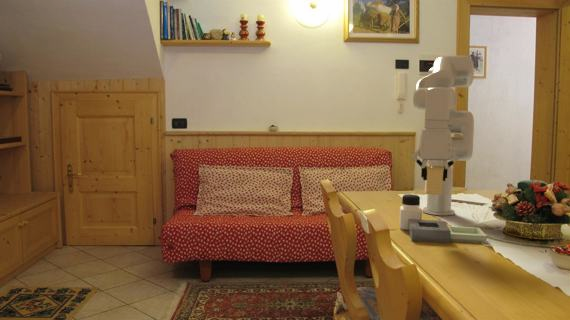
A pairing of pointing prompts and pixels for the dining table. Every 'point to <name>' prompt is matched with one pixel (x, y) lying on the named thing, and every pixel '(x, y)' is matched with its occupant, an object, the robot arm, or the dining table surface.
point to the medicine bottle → (409, 210)
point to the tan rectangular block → (434, 179)
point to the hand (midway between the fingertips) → (433, 179)
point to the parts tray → (467, 234)
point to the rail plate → (429, 231)
